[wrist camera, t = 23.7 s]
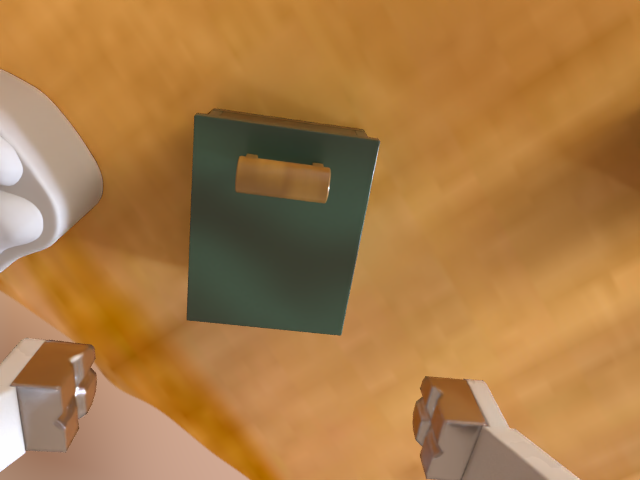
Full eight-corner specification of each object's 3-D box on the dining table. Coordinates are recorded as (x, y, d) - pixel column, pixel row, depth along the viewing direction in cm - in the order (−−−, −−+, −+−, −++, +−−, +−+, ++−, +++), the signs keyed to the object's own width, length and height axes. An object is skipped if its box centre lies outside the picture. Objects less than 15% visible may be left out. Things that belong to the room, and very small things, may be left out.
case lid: (196, 112, 28) (177, 129, 24) (378, 138, 29) (392, 159, 25) (188, 314, 34) (171, 358, 30) (340, 330, 35) (346, 375, 31)
